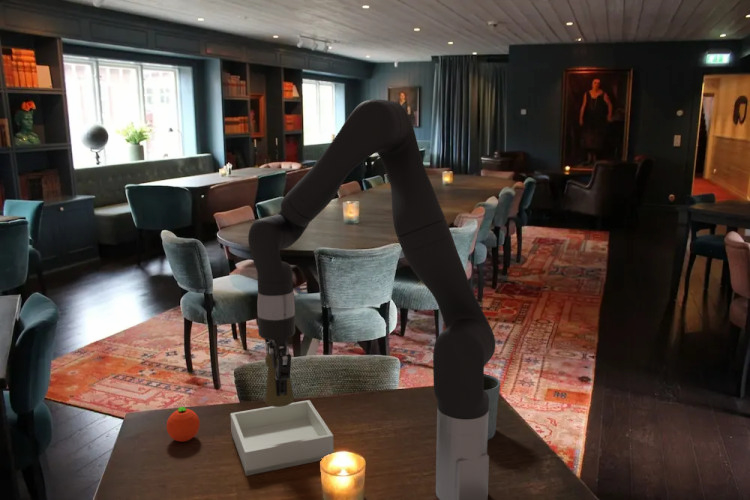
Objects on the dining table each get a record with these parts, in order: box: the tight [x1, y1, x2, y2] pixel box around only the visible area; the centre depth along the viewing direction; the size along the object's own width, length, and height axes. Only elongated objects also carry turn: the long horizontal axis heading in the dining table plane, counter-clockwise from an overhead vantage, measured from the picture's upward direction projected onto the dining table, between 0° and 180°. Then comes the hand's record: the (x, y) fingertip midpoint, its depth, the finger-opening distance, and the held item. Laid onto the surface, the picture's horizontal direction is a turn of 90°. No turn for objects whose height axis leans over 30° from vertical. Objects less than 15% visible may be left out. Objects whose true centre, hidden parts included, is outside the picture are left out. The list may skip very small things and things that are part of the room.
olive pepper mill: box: [264, 352, 294, 407], centre depth 131 cm, size 6×6×11 cm
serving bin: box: [230, 399, 335, 477], centre depth 134 cm, size 18×18×5 cm
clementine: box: [166, 406, 201, 442], centre depth 137 cm, size 8×7×7 cm
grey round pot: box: [484, 373, 501, 441], centre depth 139 cm, size 10×10×12 cm
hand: (279, 390), depth 132 cm, fingers closed on olive pepper mill, 4 cm apart
